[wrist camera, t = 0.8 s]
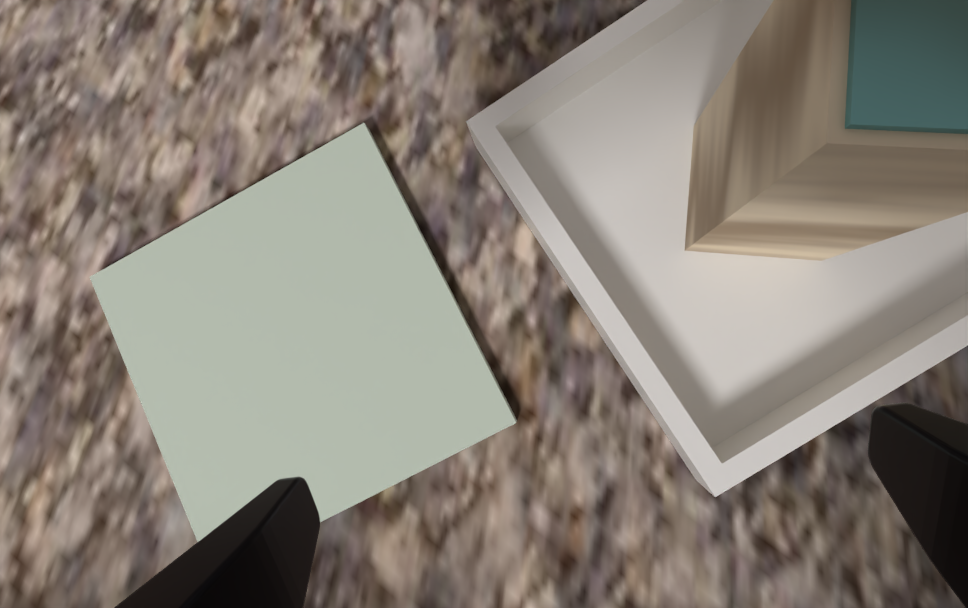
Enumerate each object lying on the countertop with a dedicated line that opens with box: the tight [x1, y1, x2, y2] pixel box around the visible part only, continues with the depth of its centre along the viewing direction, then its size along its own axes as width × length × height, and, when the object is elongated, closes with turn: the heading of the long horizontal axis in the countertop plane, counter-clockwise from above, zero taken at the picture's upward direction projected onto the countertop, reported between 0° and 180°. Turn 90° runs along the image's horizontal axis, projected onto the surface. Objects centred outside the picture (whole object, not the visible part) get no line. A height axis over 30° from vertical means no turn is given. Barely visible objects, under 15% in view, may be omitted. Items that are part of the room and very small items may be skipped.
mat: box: [90, 123, 517, 542], centre depth 23 cm, size 14×14×1 cm
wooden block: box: [684, 0, 968, 261], centre depth 15 cm, size 5×5×11 cm
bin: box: [466, 0, 968, 497], centre depth 20 cm, size 16×16×2 cm
